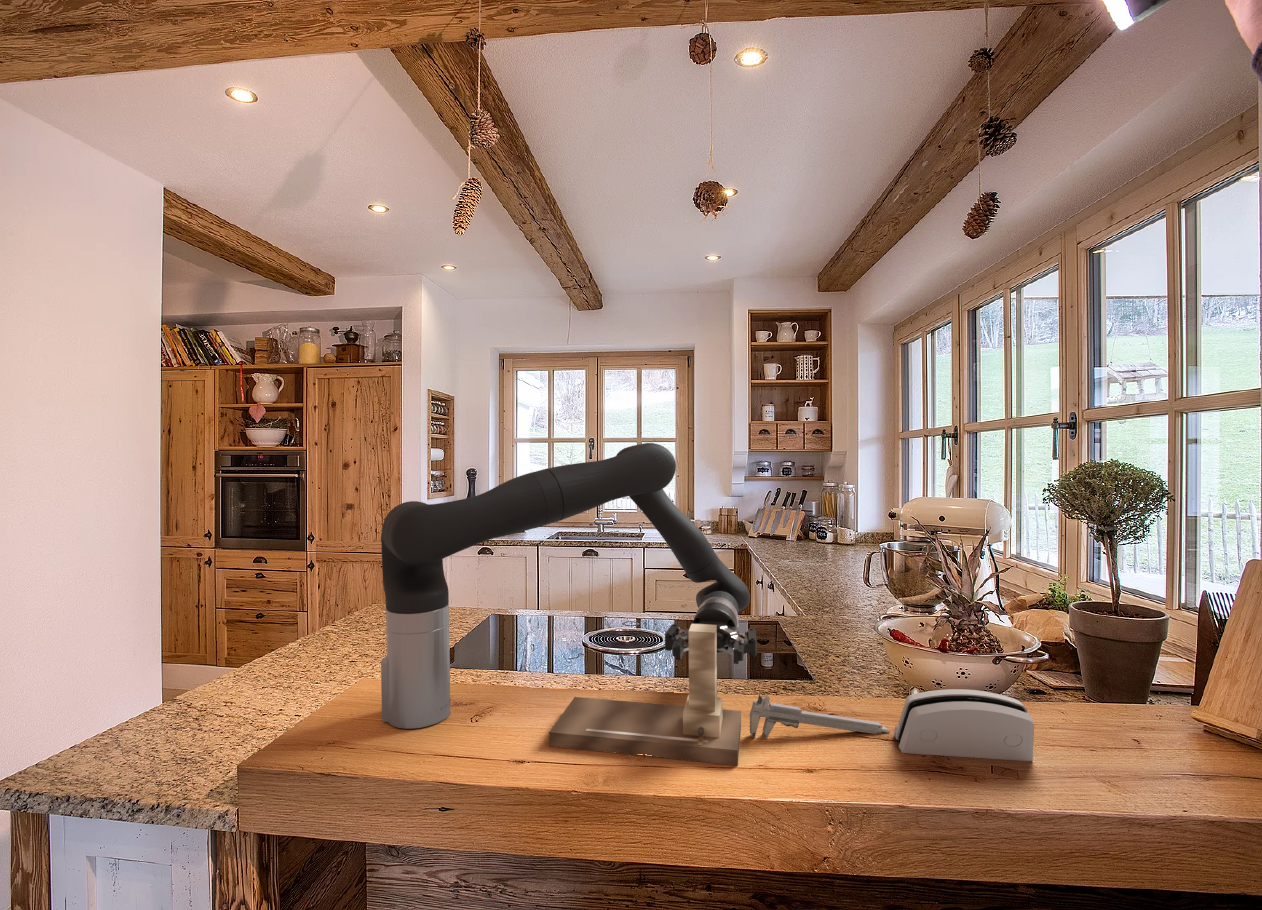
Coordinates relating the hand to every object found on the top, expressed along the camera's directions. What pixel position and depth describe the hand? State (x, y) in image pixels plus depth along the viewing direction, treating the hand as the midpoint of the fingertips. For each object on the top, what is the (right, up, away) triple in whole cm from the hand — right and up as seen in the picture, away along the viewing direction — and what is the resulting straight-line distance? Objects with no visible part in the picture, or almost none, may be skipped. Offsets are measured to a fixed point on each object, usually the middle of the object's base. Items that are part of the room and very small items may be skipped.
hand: (706, 655), depth 91 cm
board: (-9, -11, -2) cm, 14 cm away
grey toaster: (+34, -11, -8) cm, 36 cm away
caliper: (+16, -11, -2) cm, 20 cm away
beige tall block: (-1, -9, -4) cm, 10 cm away
